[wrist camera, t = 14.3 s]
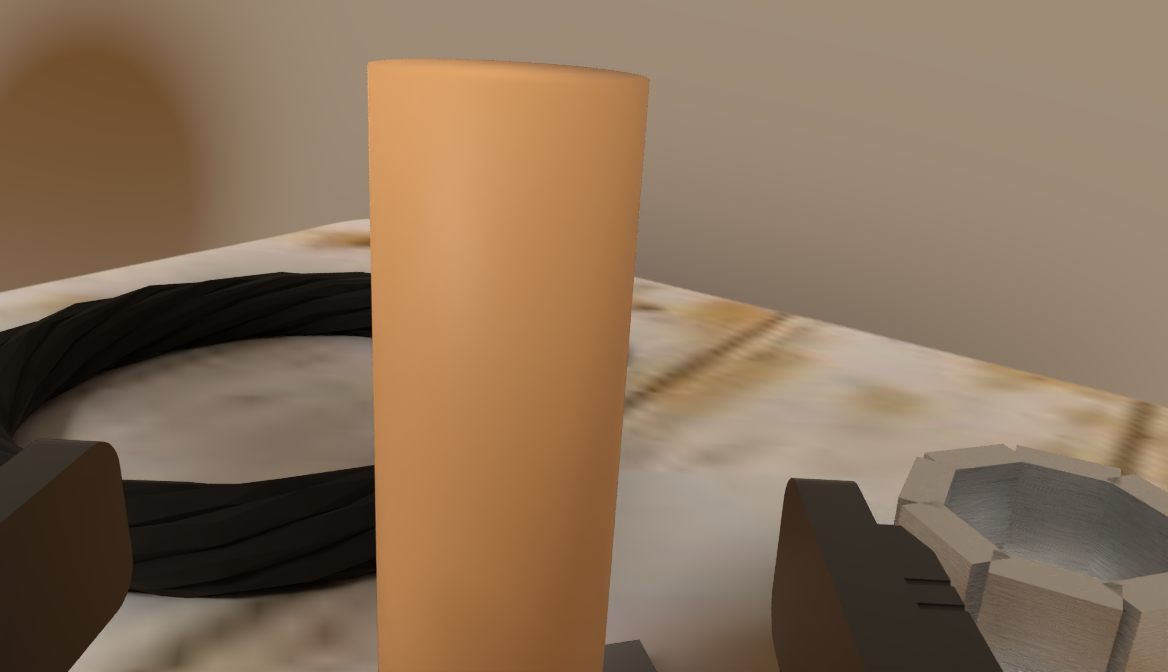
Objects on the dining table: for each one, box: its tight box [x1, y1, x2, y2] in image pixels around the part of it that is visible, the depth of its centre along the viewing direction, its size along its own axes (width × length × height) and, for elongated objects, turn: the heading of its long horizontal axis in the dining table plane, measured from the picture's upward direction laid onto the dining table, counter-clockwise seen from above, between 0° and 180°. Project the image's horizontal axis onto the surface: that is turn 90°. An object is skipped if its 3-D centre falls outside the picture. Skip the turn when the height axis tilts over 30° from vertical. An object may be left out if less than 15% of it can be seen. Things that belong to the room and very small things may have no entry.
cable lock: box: [0, 272, 377, 598], centre depth 42 cm, size 28×4×30 cm
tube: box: [367, 59, 650, 672], centre depth 18 cm, size 4×4×16 cm
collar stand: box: [894, 444, 1168, 672], centre depth 27 cm, size 11×11×5 cm
